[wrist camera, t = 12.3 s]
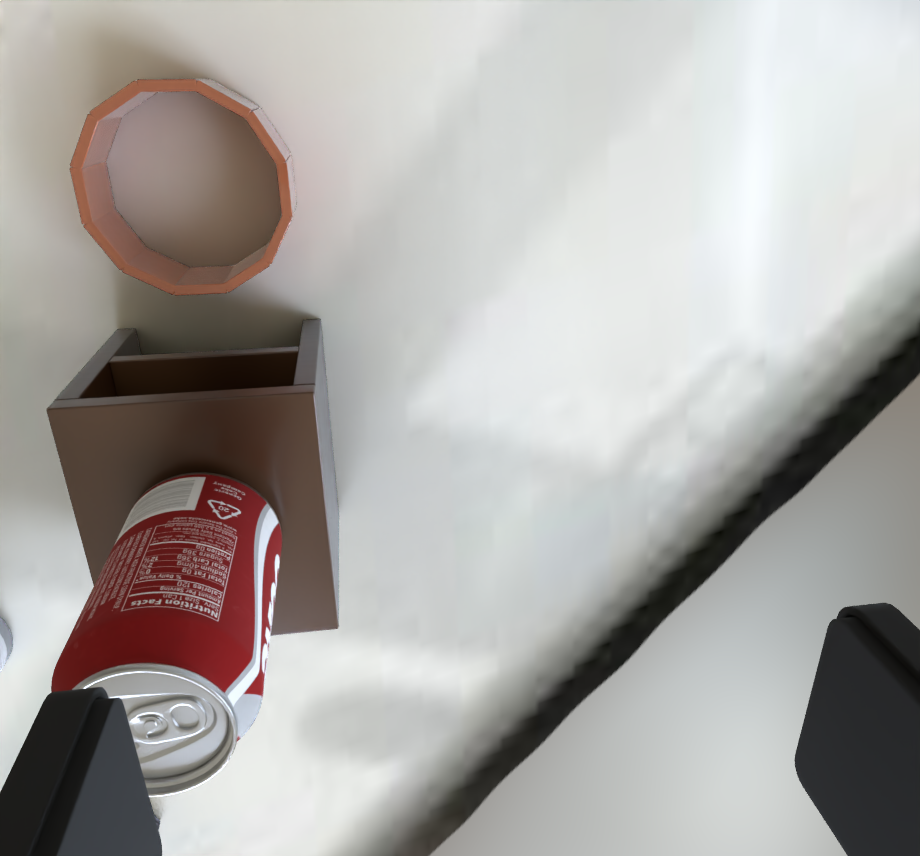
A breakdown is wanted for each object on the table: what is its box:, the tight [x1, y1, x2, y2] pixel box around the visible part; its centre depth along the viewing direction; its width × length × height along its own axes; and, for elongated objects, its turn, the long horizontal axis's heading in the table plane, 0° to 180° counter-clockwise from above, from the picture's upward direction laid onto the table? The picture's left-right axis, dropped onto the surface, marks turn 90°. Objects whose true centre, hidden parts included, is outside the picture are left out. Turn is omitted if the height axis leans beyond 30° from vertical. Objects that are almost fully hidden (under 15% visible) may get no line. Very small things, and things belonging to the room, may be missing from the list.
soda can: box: [51, 472, 282, 797], centre depth 29 cm, size 7×7×12 cm
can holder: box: [70, 79, 297, 296], centre depth 36 cm, size 10×10×4 cm
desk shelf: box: [47, 319, 339, 636], centre depth 39 cm, size 11×13×11 cm
